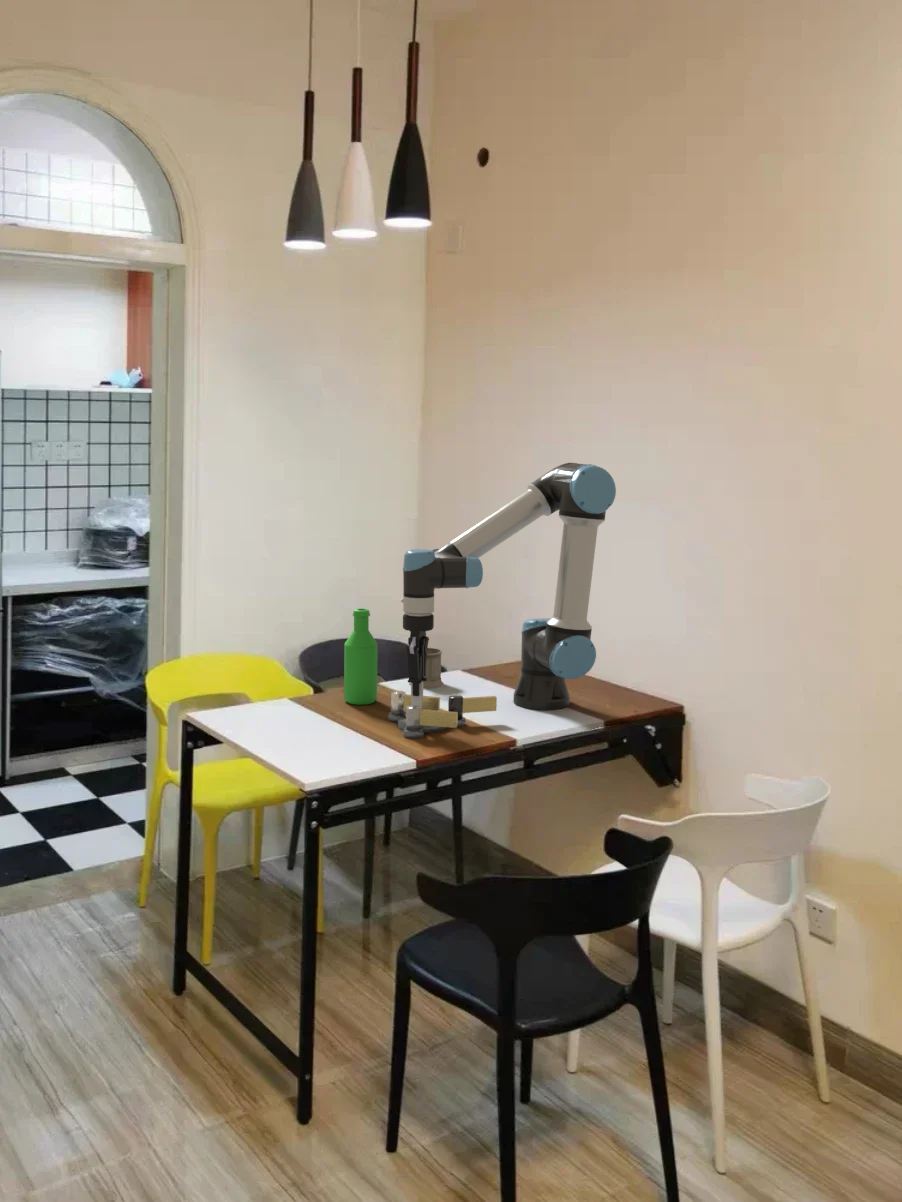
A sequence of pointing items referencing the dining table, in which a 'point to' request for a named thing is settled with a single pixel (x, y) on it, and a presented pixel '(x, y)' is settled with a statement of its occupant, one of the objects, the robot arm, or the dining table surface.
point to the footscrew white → (403, 700)
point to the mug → (433, 669)
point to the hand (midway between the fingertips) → (416, 707)
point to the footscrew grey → (429, 718)
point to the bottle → (360, 662)
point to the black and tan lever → (471, 704)
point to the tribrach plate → (424, 728)
